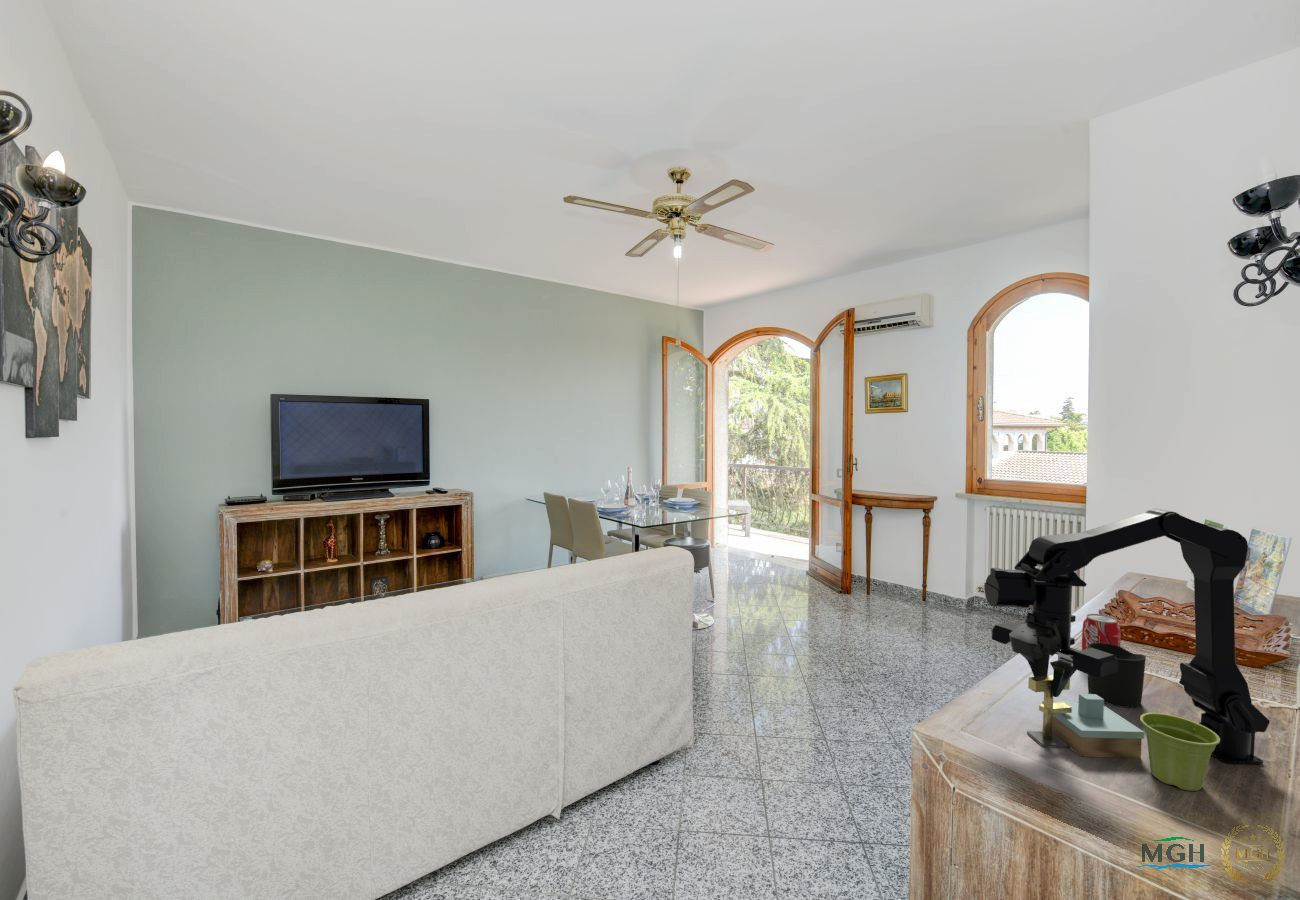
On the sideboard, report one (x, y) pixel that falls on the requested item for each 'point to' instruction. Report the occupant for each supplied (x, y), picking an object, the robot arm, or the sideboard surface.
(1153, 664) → the sideboard surface
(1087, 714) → the lid
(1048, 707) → the key
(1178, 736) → the plant pot
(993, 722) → the sideboard surface
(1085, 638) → the soda can
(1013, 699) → the sideboard surface
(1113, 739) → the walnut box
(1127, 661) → the pen holder
